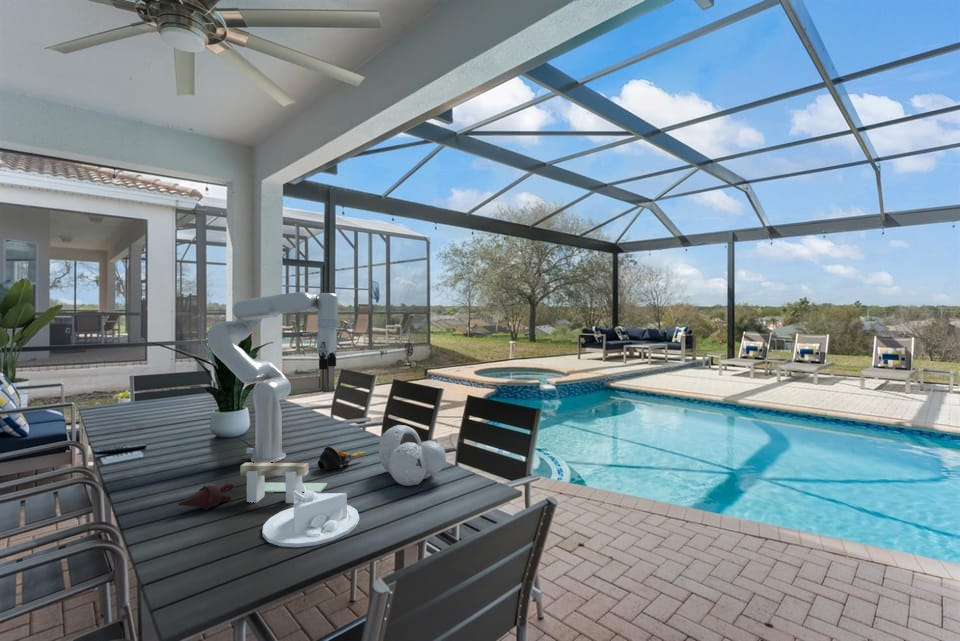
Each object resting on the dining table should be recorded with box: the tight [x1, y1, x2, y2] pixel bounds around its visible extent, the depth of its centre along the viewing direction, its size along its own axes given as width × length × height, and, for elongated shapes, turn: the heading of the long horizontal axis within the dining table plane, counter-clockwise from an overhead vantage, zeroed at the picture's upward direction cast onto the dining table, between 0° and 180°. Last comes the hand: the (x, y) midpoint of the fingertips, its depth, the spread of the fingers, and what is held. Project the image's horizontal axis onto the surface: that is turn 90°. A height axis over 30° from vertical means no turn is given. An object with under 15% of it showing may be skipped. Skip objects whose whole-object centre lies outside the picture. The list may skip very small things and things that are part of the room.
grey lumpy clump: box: [378, 424, 447, 487], centre depth 161 cm, size 20×25×22 cm
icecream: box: [178, 482, 235, 511], centre depth 135 cm, size 7×7×15 cm
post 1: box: [245, 471, 266, 504], centre depth 142 cm, size 3×5×10 cm, turn 179°
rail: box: [239, 462, 310, 477], centre depth 142 cm, size 20×3×3 cm, turn 89°
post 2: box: [284, 471, 303, 504], centre depth 142 cm, size 3×5×10 cm, turn 179°
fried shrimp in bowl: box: [317, 446, 366, 472], centre depth 173 cm, size 9×11×18 cm
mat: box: [245, 482, 328, 493], centre depth 151 cm, size 24×7×1 cm, turn 89°
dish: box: [262, 480, 360, 548], centre depth 126 cm, size 25×25×11 cm
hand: (327, 367), depth 180 cm, fingers open, 9 cm apart
